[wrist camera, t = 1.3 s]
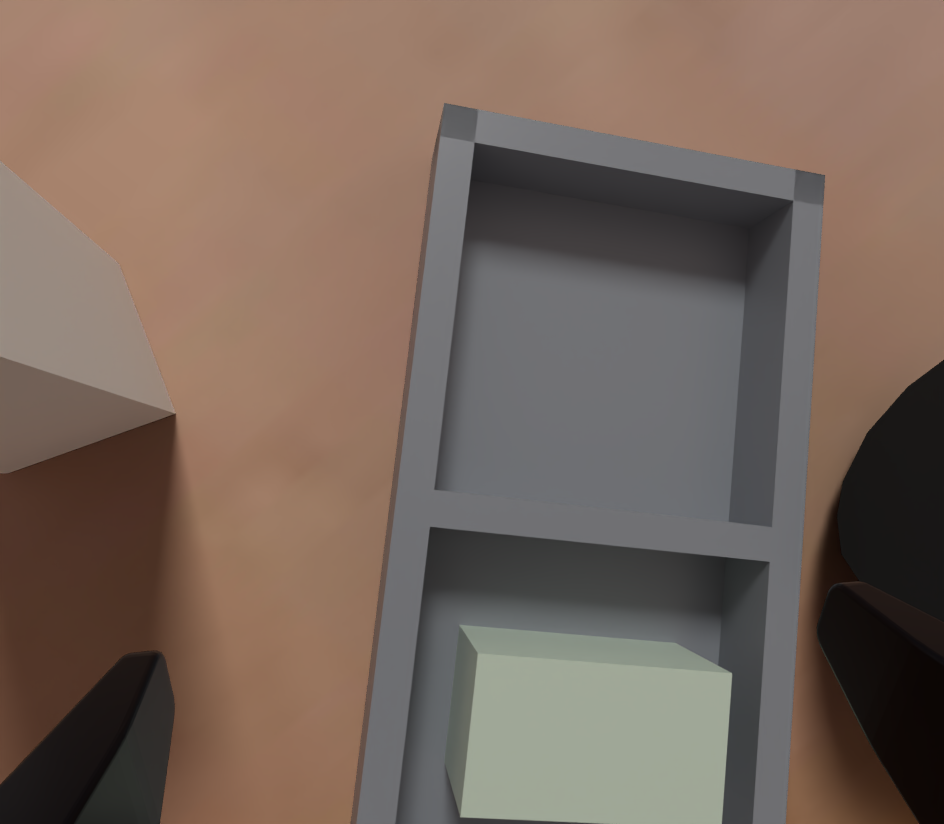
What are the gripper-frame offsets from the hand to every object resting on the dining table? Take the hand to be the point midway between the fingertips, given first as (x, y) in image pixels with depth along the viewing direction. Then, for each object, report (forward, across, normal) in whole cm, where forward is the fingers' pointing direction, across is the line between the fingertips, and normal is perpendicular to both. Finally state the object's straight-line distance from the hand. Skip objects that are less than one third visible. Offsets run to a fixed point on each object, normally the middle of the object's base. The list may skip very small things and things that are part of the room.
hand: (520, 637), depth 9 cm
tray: (+12, -5, +7) cm, 14 cm away
